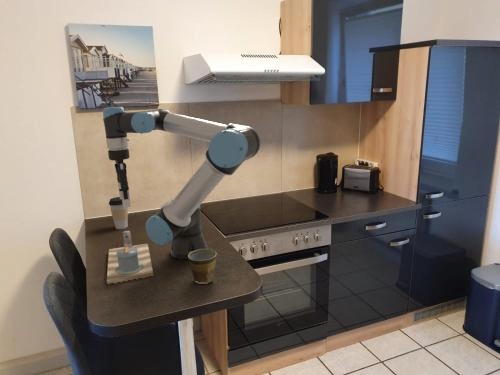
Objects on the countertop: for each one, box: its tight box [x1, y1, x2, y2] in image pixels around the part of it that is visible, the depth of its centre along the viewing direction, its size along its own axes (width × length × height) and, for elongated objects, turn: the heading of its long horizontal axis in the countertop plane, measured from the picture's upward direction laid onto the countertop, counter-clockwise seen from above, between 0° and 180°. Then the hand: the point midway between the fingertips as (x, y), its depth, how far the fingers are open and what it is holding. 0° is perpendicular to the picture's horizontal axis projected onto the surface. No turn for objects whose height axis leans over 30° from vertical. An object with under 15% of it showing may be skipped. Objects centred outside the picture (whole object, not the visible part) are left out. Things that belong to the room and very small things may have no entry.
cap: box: [117, 247, 139, 272], centre depth 143 cm, size 7×7×7 cm
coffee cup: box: [108, 196, 129, 230], centre depth 193 cm, size 9×9×15 cm
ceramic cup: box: [187, 248, 217, 282], centre depth 136 cm, size 13×10×10 cm
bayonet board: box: [106, 230, 154, 285], centre depth 151 cm, size 30×16×10 cm, turn 18°
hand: (125, 202), depth 150 cm, fingers open, 13 cm apart
